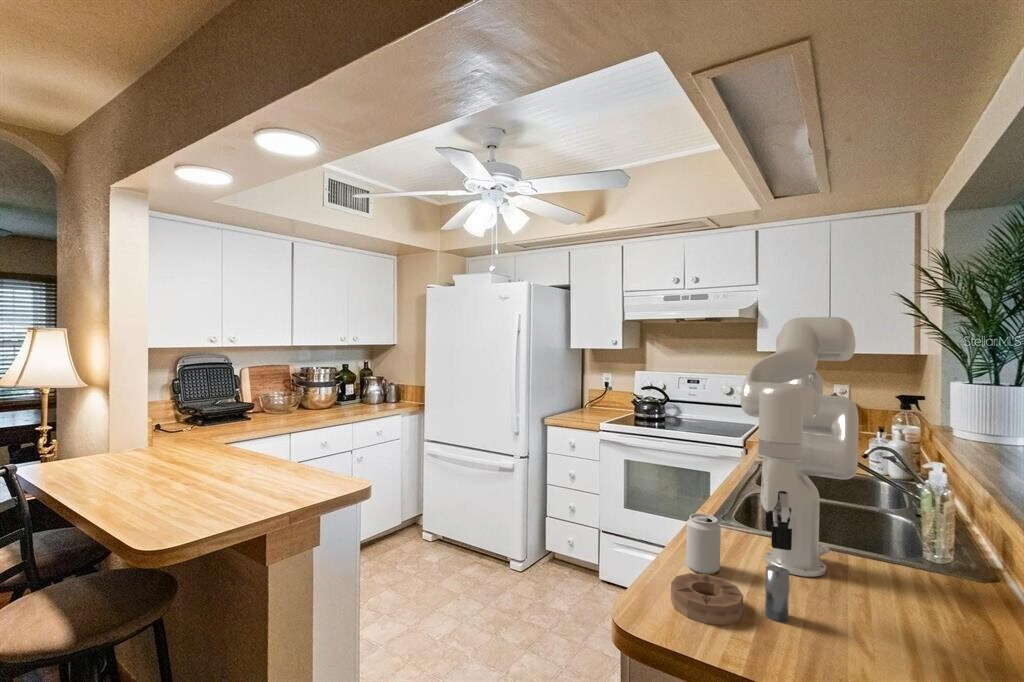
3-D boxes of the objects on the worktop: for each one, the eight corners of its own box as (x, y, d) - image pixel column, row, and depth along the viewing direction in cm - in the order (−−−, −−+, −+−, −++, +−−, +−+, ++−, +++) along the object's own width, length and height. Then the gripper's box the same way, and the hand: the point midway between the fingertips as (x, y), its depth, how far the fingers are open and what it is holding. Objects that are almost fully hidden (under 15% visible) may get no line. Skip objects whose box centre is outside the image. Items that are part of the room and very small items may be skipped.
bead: (705, 585, 109) (706, 569, 109) (756, 616, 97) (757, 598, 97) (658, 596, 104) (658, 580, 104) (706, 630, 92) (706, 611, 92)
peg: (774, 609, 100) (775, 563, 100) (793, 619, 96) (794, 572, 96) (760, 613, 98) (761, 567, 98) (778, 624, 94) (779, 576, 94)
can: (723, 577, 113) (724, 524, 113) (687, 574, 114) (689, 521, 114) (716, 563, 120) (717, 513, 120) (683, 559, 122) (684, 510, 121)
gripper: (754, 441, 106) (752, 522, 106) (763, 456, 90) (760, 552, 90) (794, 444, 104) (792, 528, 103) (811, 461, 87) (808, 560, 87)
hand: (777, 539), depth 97 cm, fingers open, 9 cm apart
